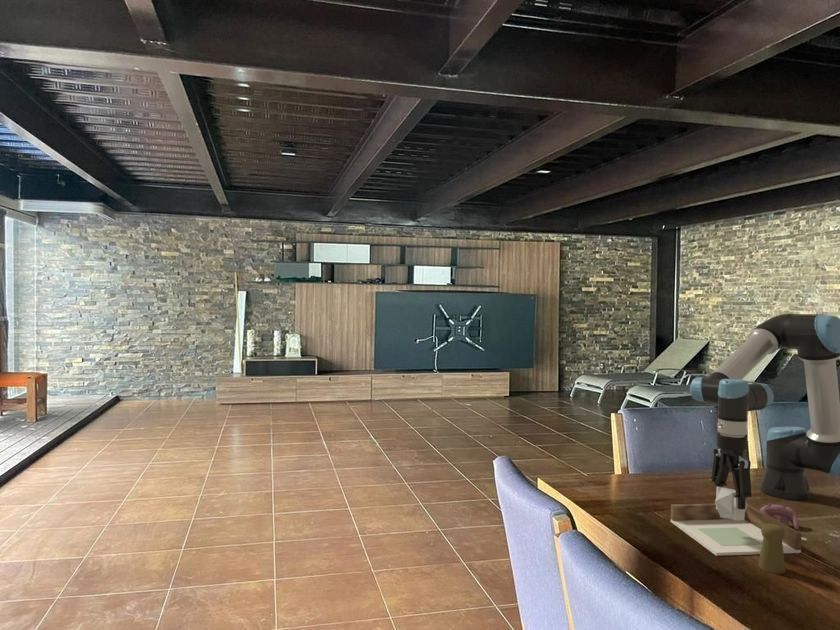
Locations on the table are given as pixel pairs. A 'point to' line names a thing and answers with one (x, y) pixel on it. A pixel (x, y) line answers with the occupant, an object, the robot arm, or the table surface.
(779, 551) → the olive pawn figure
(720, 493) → the die
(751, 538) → the wooden corner tray
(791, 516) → the video game controller
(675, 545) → the table surface
